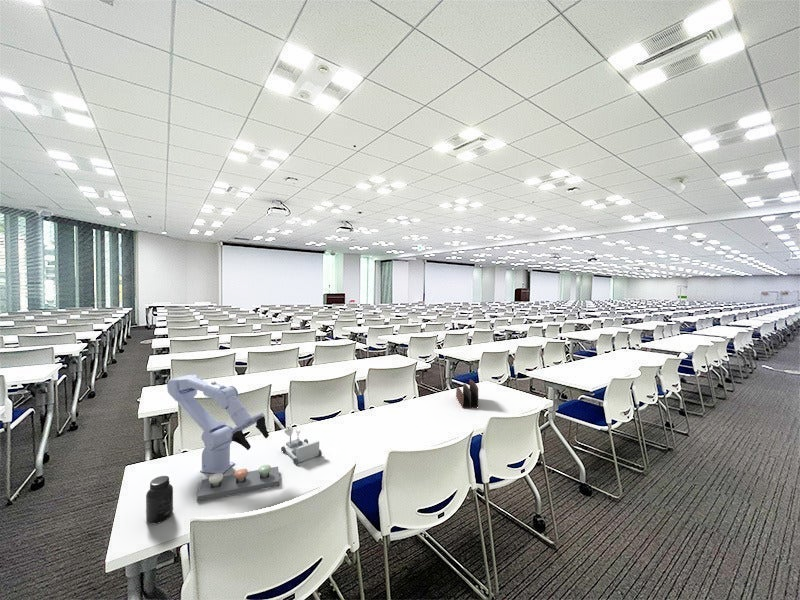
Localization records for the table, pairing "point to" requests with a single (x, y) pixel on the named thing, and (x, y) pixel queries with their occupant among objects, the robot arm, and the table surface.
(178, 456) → the table surface
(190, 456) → the table surface
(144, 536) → the table surface
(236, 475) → the terracotta button
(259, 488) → the button panel
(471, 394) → the letter holder
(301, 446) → the toy rover
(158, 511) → the supplement bottle
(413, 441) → the table surface
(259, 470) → the sage green button
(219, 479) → the ivory button
